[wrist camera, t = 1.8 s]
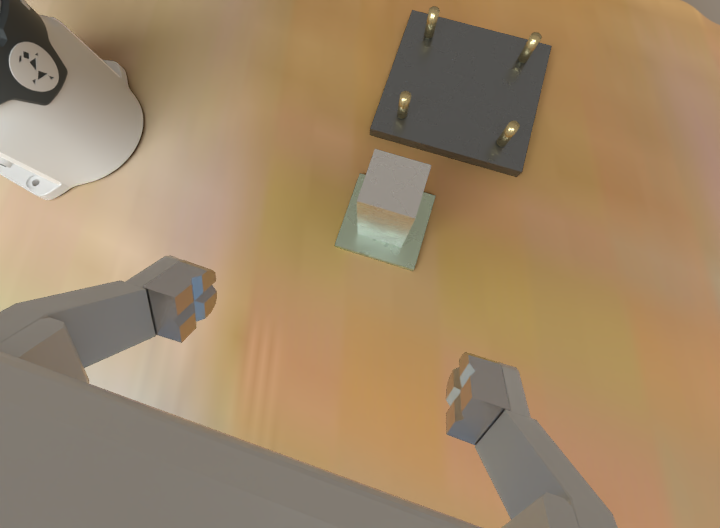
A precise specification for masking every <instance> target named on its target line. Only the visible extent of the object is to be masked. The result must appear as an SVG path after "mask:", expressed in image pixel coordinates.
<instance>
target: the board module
mask: <svg viewBox="0 0 720 528" xmlns="http://www.w3.org/2000/svg"><path fill="white" fill-rule="evenodd" d="M430 168H431V165H429V164H426V163H422V162H419V161H415V160H412V159H409V158H405V157H402V156H398V155H395V154H391V153H388V152H384V151H381V150H377V149H375V150H374V153H373V156H372V159H371V161H370V164H369V167H368V170H367V173H366V175H364V174H359V177H358V180H357V183H356V186H355V189H354V192H353V194H352V197H351V200H350V203H349V206H348V209H347V212H346V214H345V217H344V220H343V223H342V226H341V229H340V231H339V234H338V237H337V240H336V243H335V247H337V248H340V249H343V250H347V251H350V252H353V253H356V254H359V255H362V256H366V257H369V258H372V259H375V260H378V261H382V262H385V263H388V264H391V265H394V266H398V267H401V268H404V269H407V270H410V271H413V270H414V268H415V265H416V261H417V258H418V254H419V251H420V247H421V244H422V241H423V237H424V234H425V230H426V227H427V223H428V220H429V217H430V213H431V210H432V206H433V203H434V199H435V195H432V194H428V193H425V192H424V188H425V185H426V182H427V178H428V175H429V172H430Z"/></svg>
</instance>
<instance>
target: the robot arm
mask: <svg viewBox="0 0 720 528" xmlns="http://www.w3.org/2000/svg"><path fill="white" fill-rule="evenodd" d="M142 129H143V113H142V109H141V106H140V104H139V102H138V100H137V98H136V97H135V96H134V94H133V93H132V92H131V90H130V89H129V87H128V81H127V75H126V72H125V70H124V68H122V67H121V66H120V65H119V64H118V63H117V62H115V61H109V60H102V59H101V58H100V57H99V56H97V55H96V54H95V53H94V52H93V51H92V50H91V49H90V48H89V47H88V46H87V45H86V44H85V43H83V42H82V41H81V40H80V39H79V38H78V37H77V36H76V35H75V34H74V33H73V32H72V31H70V30H69V29H68V28H67V27H66V26H65V25H64V24H63V23H62V22H60V21H59V20H57V19H56V18H54V17H47V16H43V15H38V14H37V13H36V12H35V11H34V10H33V9H32V8H31V7H30V6H29V5H28V4H27V2H26V1H25V0H0V175H2V176H4V177H5V178H7V179H9V180H11V181H12V182H14V183H16V184H17V185H19V186H21V187H23V188H24V189H26V190H28V191H29V192H31V193H33V194H34V195H36V196H38V197H40V198H42V199H44V200H51V199H54V198H56V197H58V196H60V195H61V194H63V193H64V192H66V191H67V190H69V189H70V188H72V187H75V186H77V185H81V184H85V183H89V182H92V181H95V180H98V179H100V178H103V177H105V176H107V175H108V174H110V173H112V172H113V171H115V170H116V169H117V168H119V167H120V166H121V165H122V164H123V163H124V162H125V161H126V160H127V159H128V158H129V157H130V155H131V154H132V153H133V151H134V150H135V148H136V146H137V144H138V142H139V140H140V137H141V134H142ZM215 281H216V275H215V272H214V271H213V270H211V269H208V268H205V267H202V266H199V265H197V264H194V263H191V262H188V261H185V260H181V259H178V258H176V257H173V256H165V257H163V258H161V259H160V260H158V261H157V262H155V263H154V264H152V265H151V266H149V267H148V268H146V269H144V270H143V271H141V272H140V273H138V274H137V275H135V276H134V277H132V278H130V279H129V280H127V281H126V282H123V281H116V282H111V283H107V284H102V285H98V286H93V287H89V288H84V289H80V290H75V291H71V292H66V293H62V294H57V295H52V296H48V297H43V298H39V299H34V300H30V301H25V302H21V303H16V304H14V305H12V306H10V307H9V308H7V309H5V310H3V311H1V312H0V528H482V527H479V526H476V525H473V524H471V523H468V522H465V521H463V520H460V519H457V518H454V517H452V516H449V515H446V514H443V513H441V512H438V511H435V510H432V509H430V508H427V507H424V506H422V505H419V504H416V503H413V502H411V501H408V500H405V499H402V498H400V497H397V496H394V495H392V494H389V493H386V492H383V491H381V490H378V489H375V488H372V487H370V486H367V485H364V484H362V483H359V482H356V481H353V480H351V479H348V478H345V477H343V476H340V475H337V474H334V473H332V472H329V471H326V470H323V469H321V468H318V467H315V466H313V465H310V464H307V463H304V462H302V461H299V460H296V459H293V458H291V457H288V456H285V455H283V454H280V453H277V452H274V451H272V450H269V449H266V448H263V447H261V446H258V445H255V444H252V443H250V442H247V441H244V440H242V439H239V438H236V437H233V436H231V435H228V434H225V433H222V432H220V431H217V430H214V429H211V428H209V427H206V426H203V425H200V424H198V423H195V422H192V421H190V420H187V419H184V418H181V417H179V416H176V415H173V414H170V413H168V412H165V411H162V410H160V409H157V408H154V407H151V406H149V405H146V404H143V403H140V402H138V401H135V400H132V399H129V398H127V397H124V396H121V395H119V394H116V393H113V392H110V391H108V390H105V389H102V388H99V387H97V386H94V385H91V384H89V379H88V376H87V374H86V372H85V370H84V368H85V367H87V366H90V365H92V364H94V363H96V362H99V361H101V360H103V359H105V358H108V357H110V356H112V355H114V354H117V353H119V352H121V351H123V350H125V349H128V348H130V347H132V346H134V345H137V344H139V343H141V342H143V341H146V340H148V339H150V338H152V337H155V336H156V335H159V336H162V337H165V338H169V339H172V340H175V341H178V342H181V343H182V342H183V341H184V340H185V339H186V338H187V337H188V336H189V335H190V334H191V333H192V332H193V331H194V330H195V329H196V321H199V320H202V319H205V318H206V317H207V316H208V315H209V314H210V313H211V312H212V310H213V308H214V306H215V304H216V299H217V291H216V290H215V288H214V287H213V285H212V284H213V283H214V282H215ZM446 400H447V402H448V404H449V405H450V408H449V409H448V411H447V412H446V434H447V435H449V436H452V437H455V438H457V439H460V440H463V441H465V442H468V443H471V444H473V445H476V446H475V448H476V450H477V452H478V454H479V456H480V458H481V460H482V462H483V464H484V466H485V468H486V470H487V472H488V474H489V476H490V478H491V480H492V482H493V484H494V486H495V488H496V490H497V492H498V494H499V496H500V498H501V500H502V502H503V504H504V506H505V508H506V510H507V512H508V514H509V516H510V518H511V520H510V521H509V522H508V523H507V524H505V525H504V526H503V527H501V528H618V527H617V525H616V522H615V520H614V517H613V514H612V513H611V512H610V510H609V509H608V508H607V507H606V505H605V504H604V503H603V502H602V501H601V499H600V498H599V497H598V496H597V494H596V493H595V492H594V491H593V489H592V488H591V487H590V486H589V485H588V483H587V482H586V481H585V480H584V478H583V477H582V476H581V475H580V473H579V472H578V471H577V470H576V468H575V467H574V466H573V465H572V464H571V462H570V461H569V460H568V459H567V457H566V456H565V455H564V454H563V452H562V451H561V450H560V449H559V447H558V446H557V445H556V444H555V443H554V441H553V440H552V439H551V438H550V436H549V435H548V434H547V433H546V431H545V430H544V429H543V428H542V427H541V425H540V424H539V423H538V422H537V420H535V419H532V418H531V417H530V413H529V409H528V405H527V401H526V398H525V394H524V390H523V386H522V382H521V378H520V374H519V371H518V370H517V368H516V367H512V366H509V365H506V364H503V363H498V362H495V361H492V360H489V359H486V358H483V357H480V356H476V355H473V354H470V353H467V352H465V353H464V354H462V356H461V358H460V359H459V367H458V368H456V369H453V371H452V373H451V375H450V377H449V380H448V384H447V389H446Z"/></svg>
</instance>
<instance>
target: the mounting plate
mask: <svg viewBox="0 0 720 528" xmlns="http://www.w3.org/2000/svg"><path fill="white" fill-rule="evenodd" d="M438 15H439V8H438V7H435V6H433V7H431V8H430V9H429V13H428V14H426V13H422V12H418V11H414V10H412V13H411V15H410V18H409V21H408V24H407V27H406V29H405V32H404V35H403V38H402V41H401V44H400V46H399V49H398V52H397V55H396V58H395V60H394V63H393V66H392V69H391V72H390V75H389V77H388V80H387V83H386V86H385V89H384V91H383V94H382V97H381V100H380V103H379V106H378V108H377V111H376V114H375V117H374V120H373V122H372V125H371V128H370V135H372V136H375V137H379V138H382V139H386V140H389V141H393V142H396V143H400V144H403V145H407V146H410V147H414V148H417V149H421V150H424V151H427V152H431V153H434V154H438V155H441V156H445V157H448V158H452V159H455V160H459V161H462V162H466V163H469V164H473V165H476V166H480V167H483V168H487V169H490V170H494V171H497V172H501V173H504V174H508V175H511V176H515V177H517V176H518V175H519V174H520V173H521V172H522V170H523V165H524V161H525V157H526V152H527V148H528V144H529V140H530V135H531V131H532V127H533V123H534V118H535V114H536V110H537V106H538V101H539V97H540V93H541V89H542V84H543V80H544V76H545V71H546V67H547V63H548V59H549V54H550V50H551V46H550V45H546V44H542V43H539V41H540V40H541V35H540V34H539V33H537V32H534V33H532V34H531V36H530V38H529V39H528V40H527V39H523V38H519V37H515V36H511V35H507V34H503V33H500V32H496V31H492V30H488V29H484V28H480V27H476V26H472V25H468V24H465V23H461V22H457V21H453V20H449V19H445V18H441V17H438Z"/></svg>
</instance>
